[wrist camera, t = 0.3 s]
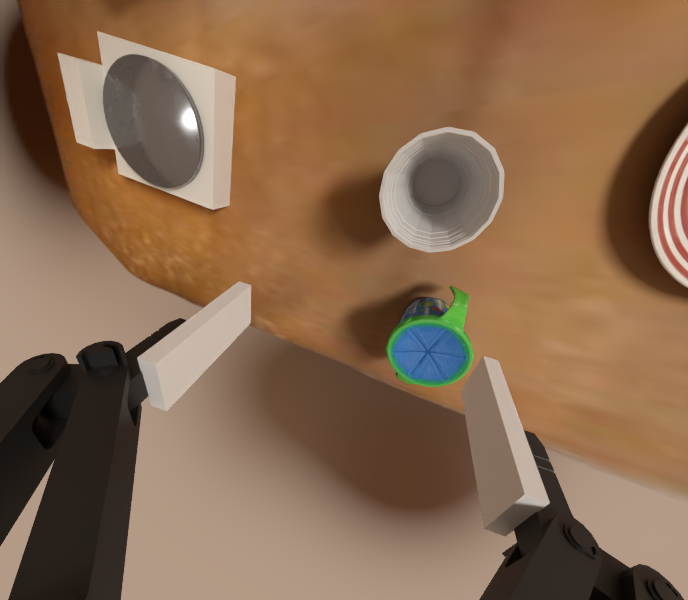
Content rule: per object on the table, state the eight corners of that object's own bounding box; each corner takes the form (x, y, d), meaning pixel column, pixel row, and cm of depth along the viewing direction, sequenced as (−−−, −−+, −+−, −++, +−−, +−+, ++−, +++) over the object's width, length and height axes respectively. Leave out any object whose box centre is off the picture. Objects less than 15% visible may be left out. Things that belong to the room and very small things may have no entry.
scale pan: (100, 41, 34) (92, 39, 33) (204, 75, 33) (198, 73, 32) (119, 169, 42) (113, 169, 41) (204, 201, 40) (199, 202, 39)
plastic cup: (407, 238, 39) (398, 268, 29) (382, 160, 35) (362, 161, 25) (492, 211, 34) (516, 234, 24) (473, 118, 31) (492, 99, 21)
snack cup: (433, 259, 39) (432, 288, 31) (493, 299, 39) (510, 340, 31) (375, 330, 47) (362, 368, 39) (425, 363, 48) (423, 409, 39)
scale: (106, 35, 38) (45, 12, 32) (235, 77, 36) (196, 61, 30) (124, 165, 47) (79, 167, 41) (229, 205, 44) (197, 213, 39)
